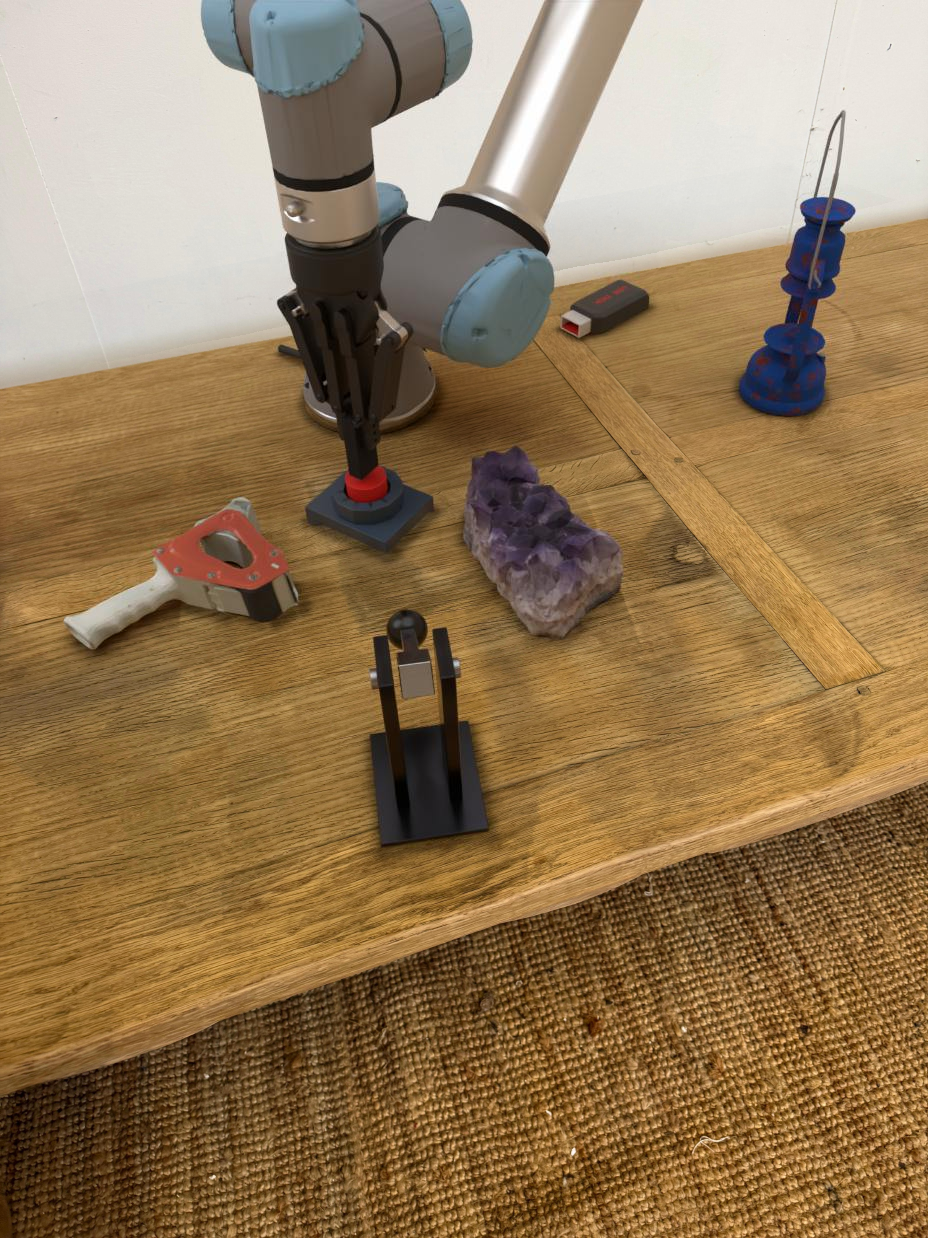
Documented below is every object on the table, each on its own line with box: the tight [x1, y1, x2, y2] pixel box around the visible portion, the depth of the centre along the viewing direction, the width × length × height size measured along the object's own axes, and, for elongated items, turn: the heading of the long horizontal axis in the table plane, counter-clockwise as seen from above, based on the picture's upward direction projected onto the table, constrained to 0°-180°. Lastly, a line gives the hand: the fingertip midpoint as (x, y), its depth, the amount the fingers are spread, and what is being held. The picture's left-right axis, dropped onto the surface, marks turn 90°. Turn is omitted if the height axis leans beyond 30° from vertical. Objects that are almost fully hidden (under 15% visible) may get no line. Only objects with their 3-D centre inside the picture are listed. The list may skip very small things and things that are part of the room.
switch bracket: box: [368, 626, 490, 848], centre depth 67 cm, size 10×8×16 cm
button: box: [345, 465, 388, 503], centre depth 91 cm, size 4×4×2 cm
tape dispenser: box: [63, 497, 300, 650], centre depth 86 cm, size 18×5×20 cm
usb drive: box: [559, 279, 650, 339], centre depth 119 cm, size 5×12×3 cm, turn 132°
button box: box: [304, 465, 435, 554], centre depth 93 cm, size 10×8×4 cm
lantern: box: [738, 109, 857, 417], centre depth 96 cm, size 11×9×30 cm
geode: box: [462, 445, 624, 640], centre depth 86 cm, size 20×12×10 cm, turn 30°
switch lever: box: [385, 608, 436, 700], centre depth 67 cm, size 13×3×3 cm
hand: (364, 469), depth 90 cm, fingers closed
